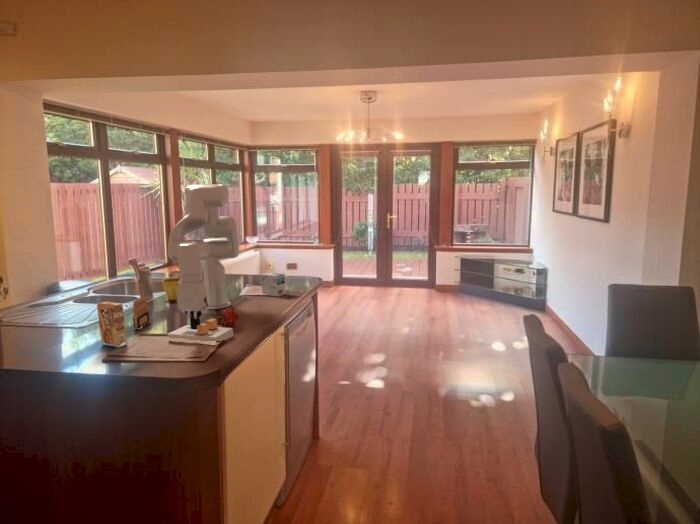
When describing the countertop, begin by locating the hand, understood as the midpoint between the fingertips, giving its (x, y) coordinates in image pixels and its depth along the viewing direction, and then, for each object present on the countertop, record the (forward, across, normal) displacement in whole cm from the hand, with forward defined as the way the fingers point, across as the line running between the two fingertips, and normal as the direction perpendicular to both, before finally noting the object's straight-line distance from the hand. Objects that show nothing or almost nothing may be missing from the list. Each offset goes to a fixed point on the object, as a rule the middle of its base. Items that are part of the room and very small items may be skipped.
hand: (195, 328), depth 171 cm
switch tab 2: (+1, +3, +6) cm, 7 cm away
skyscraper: (+6, -58, +82) cm, 100 cm away
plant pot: (+6, -53, +56) cm, 78 cm away
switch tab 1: (+1, +3, 0) cm, 3 cm away
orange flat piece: (+5, -34, +12) cm, 37 cm away
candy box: (+5, -27, -10) cm, 29 cm away
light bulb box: (+6, -6, +74) cm, 74 cm away
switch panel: (+5, 0, +3) cm, 6 cm away
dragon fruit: (+5, +2, +18) cm, 19 cm away
